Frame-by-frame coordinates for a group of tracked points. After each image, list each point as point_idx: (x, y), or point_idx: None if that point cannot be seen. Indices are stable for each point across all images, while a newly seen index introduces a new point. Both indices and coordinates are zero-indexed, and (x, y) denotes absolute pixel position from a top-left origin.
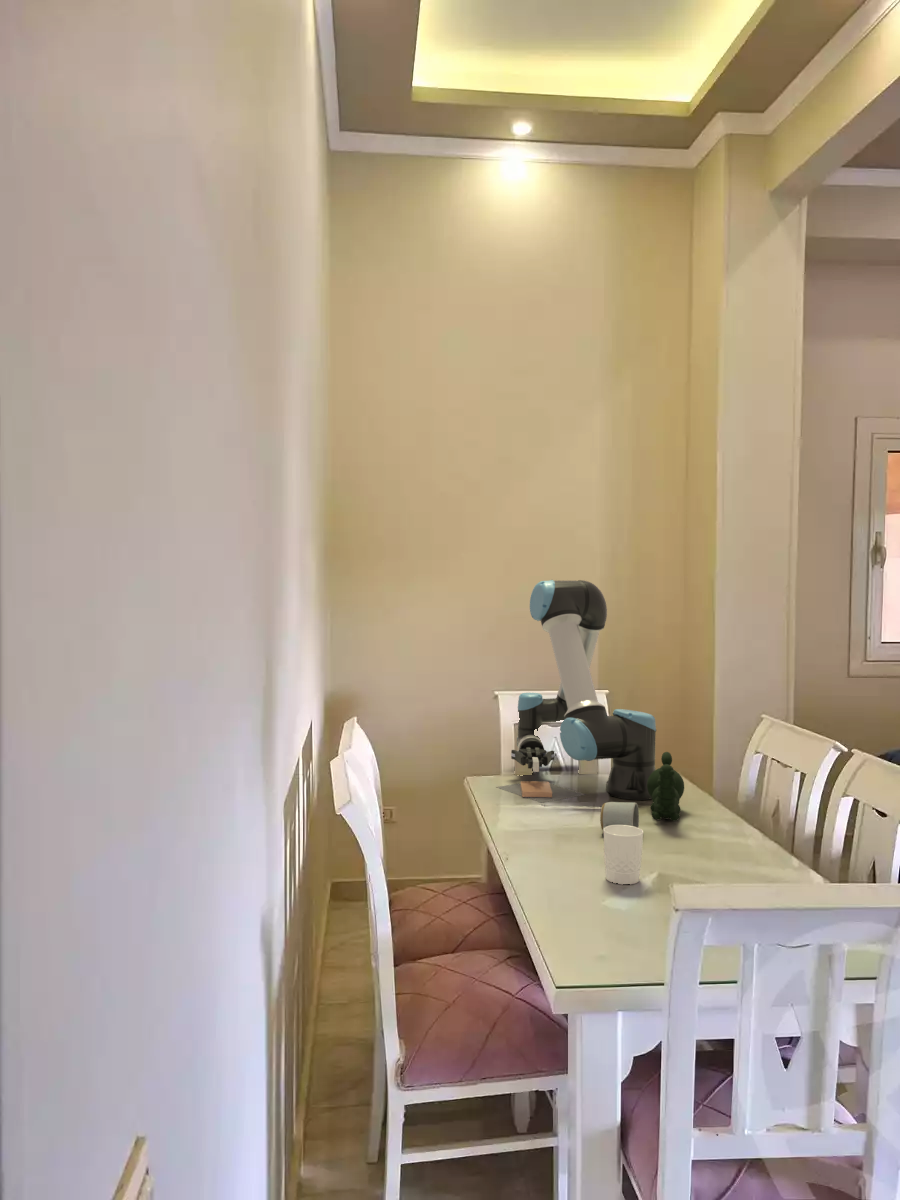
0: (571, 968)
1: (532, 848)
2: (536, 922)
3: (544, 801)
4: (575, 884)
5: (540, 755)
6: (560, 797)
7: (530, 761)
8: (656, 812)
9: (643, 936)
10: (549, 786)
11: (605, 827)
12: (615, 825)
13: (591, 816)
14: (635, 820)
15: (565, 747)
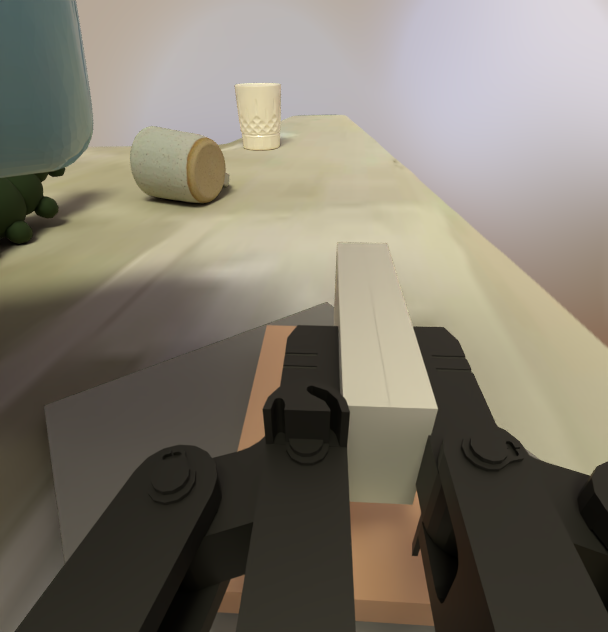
0: (336, 117)
1: (360, 173)
2: (356, 127)
3: (313, 312)
4: (315, 143)
5: (288, 392)
6: (223, 356)
7: (432, 331)
8: (48, 197)
9: (282, 124)
10: (250, 420)
11: (275, 85)
12: (260, 86)
13: (190, 250)
14: (141, 180)
15: (82, 66)
